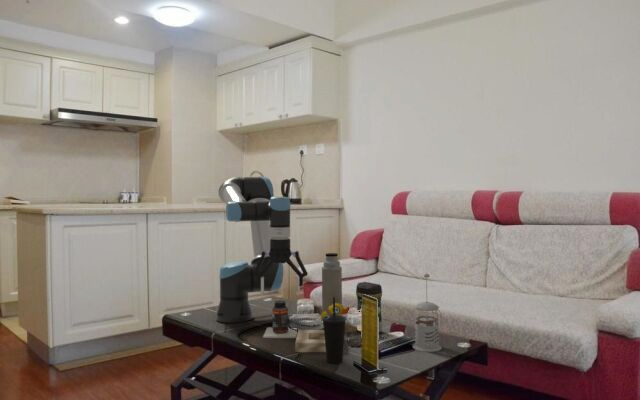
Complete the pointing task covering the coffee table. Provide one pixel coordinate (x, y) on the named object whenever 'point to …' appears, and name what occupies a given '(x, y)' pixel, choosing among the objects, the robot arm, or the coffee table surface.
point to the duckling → (336, 310)
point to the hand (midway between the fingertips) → (280, 294)
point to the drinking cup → (334, 336)
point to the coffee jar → (370, 290)
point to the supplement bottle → (280, 317)
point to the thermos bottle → (331, 282)
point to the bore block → (310, 341)
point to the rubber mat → (271, 334)
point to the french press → (427, 327)
